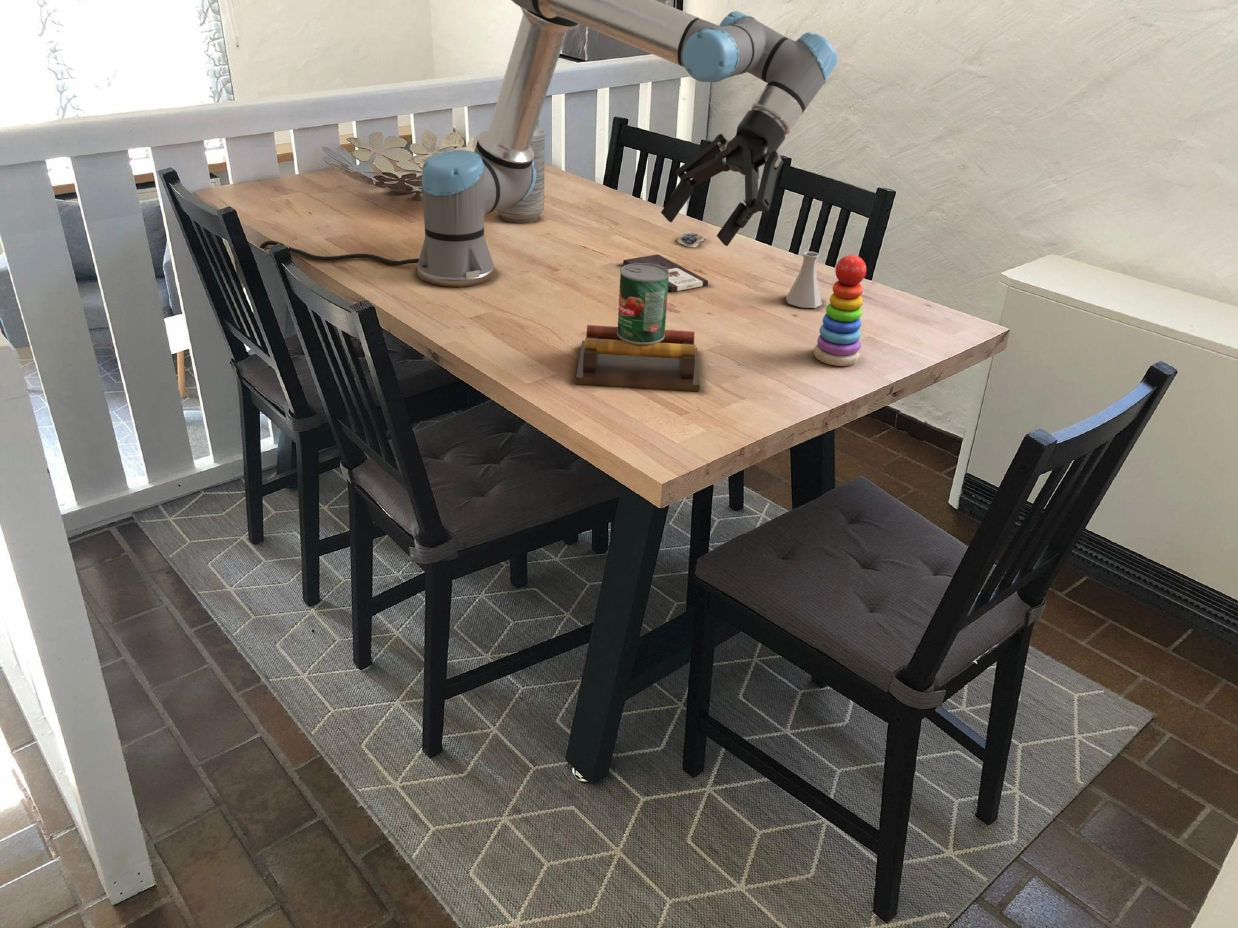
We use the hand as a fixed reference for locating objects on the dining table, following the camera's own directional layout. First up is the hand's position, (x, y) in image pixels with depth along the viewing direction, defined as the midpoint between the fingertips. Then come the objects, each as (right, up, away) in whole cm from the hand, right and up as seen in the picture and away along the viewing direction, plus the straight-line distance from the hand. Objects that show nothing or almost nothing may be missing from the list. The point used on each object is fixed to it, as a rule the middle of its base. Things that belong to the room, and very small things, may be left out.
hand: (693, 229), depth 161 cm
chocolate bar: (-3, +1, +45) cm, 45 cm away
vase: (-36, +20, +75) cm, 85 cm away
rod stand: (-9, -22, +5) cm, 24 cm away
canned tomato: (-8, -17, +2) cm, 19 cm away
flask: (+25, -6, +35) cm, 44 cm away
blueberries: (+5, +12, +65) cm, 66 cm away
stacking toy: (+26, -20, +12) cm, 35 cm away
